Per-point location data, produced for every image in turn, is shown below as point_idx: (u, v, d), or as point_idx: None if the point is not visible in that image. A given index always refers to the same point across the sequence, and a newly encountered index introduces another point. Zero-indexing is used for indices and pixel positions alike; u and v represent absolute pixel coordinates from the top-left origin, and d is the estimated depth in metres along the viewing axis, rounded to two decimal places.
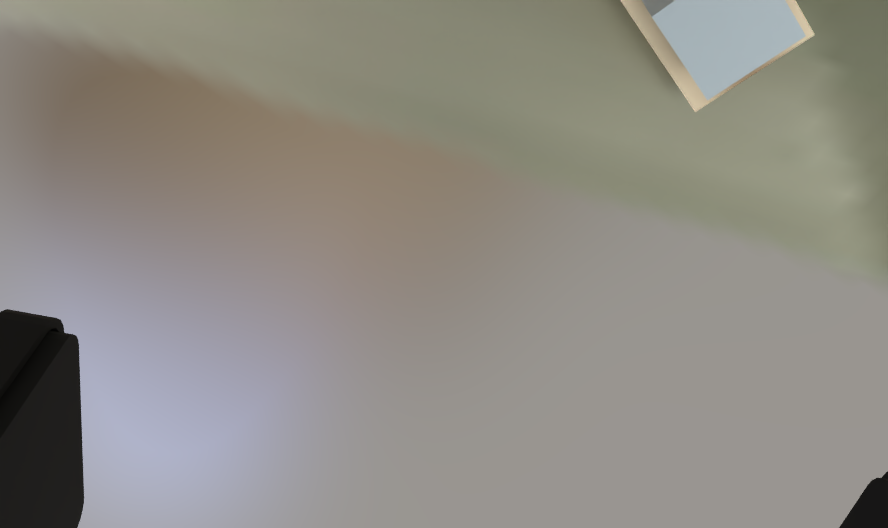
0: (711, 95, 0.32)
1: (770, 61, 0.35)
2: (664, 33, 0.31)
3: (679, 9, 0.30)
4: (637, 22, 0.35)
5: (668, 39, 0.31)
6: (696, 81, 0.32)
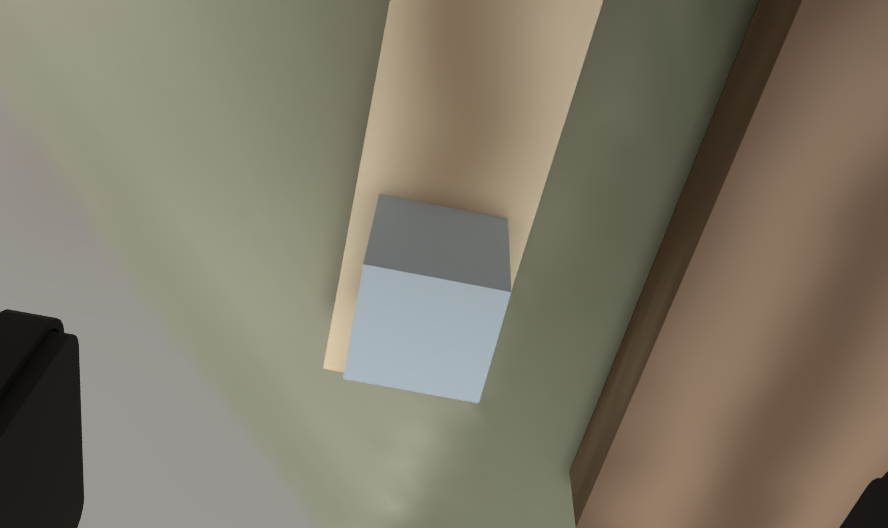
0: (350, 378, 0.24)
1: None
2: (360, 289, 0.23)
3: (394, 281, 0.23)
4: (346, 253, 0.27)
5: (359, 297, 0.23)
6: (348, 355, 0.24)
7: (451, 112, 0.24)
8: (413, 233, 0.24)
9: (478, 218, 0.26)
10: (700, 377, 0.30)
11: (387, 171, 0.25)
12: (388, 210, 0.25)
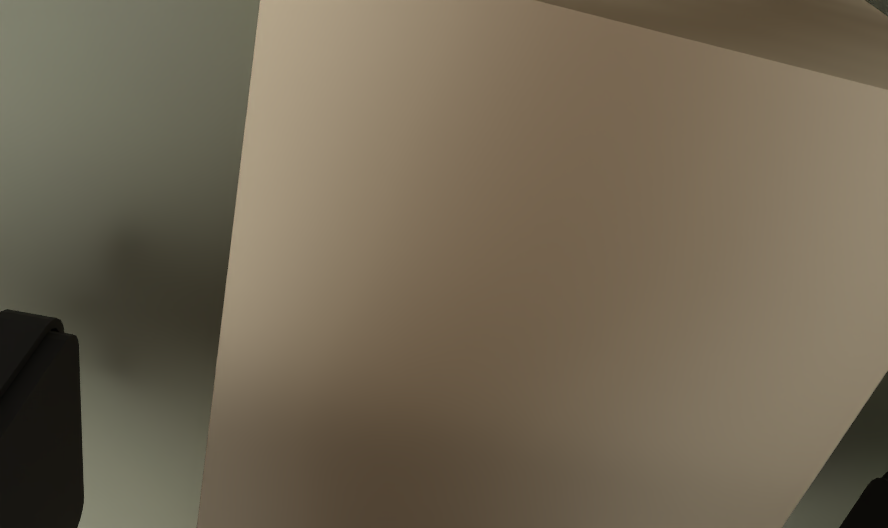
0: None
1: None
2: None
3: None
4: None
5: None
6: None
7: None
8: None
9: None
10: None
11: None
12: None
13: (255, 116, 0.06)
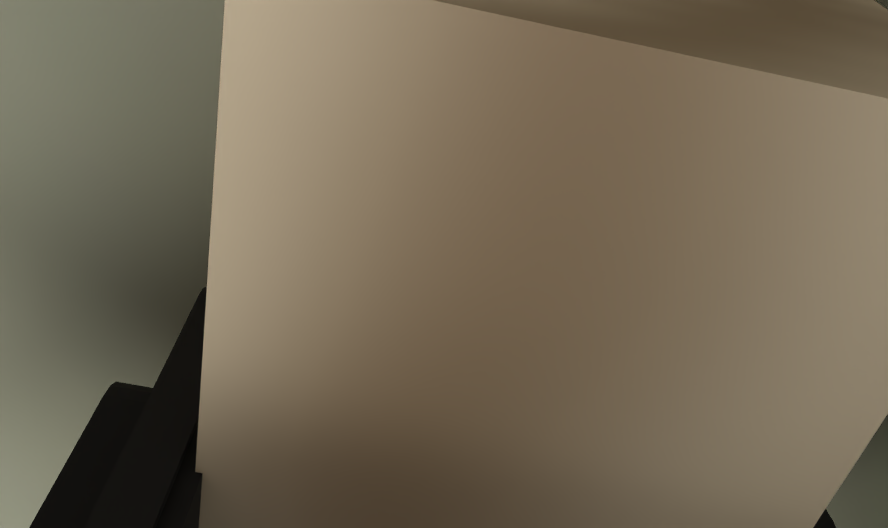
0: None
1: None
2: None
3: None
4: None
5: None
6: None
7: None
8: None
9: None
10: None
11: None
12: None
13: (225, 147, 0.06)
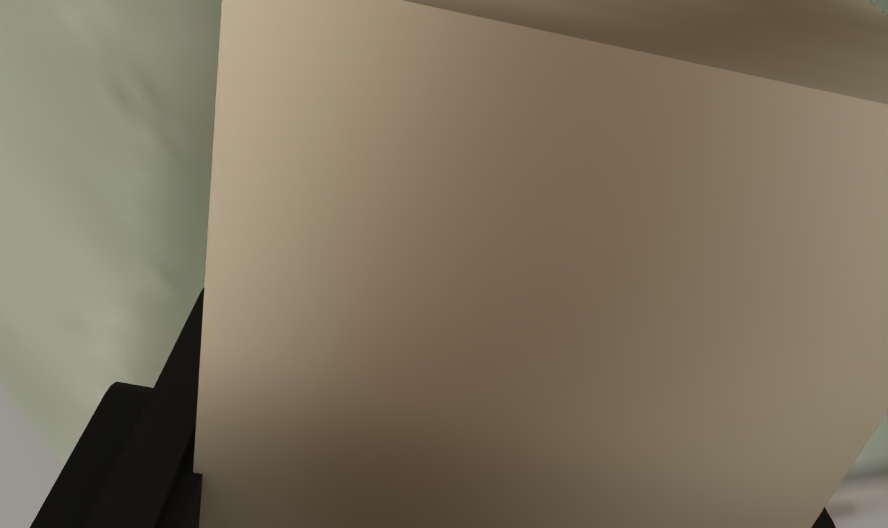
0: None
1: None
2: None
3: None
4: None
5: None
6: None
7: None
8: None
9: None
10: None
11: None
12: None
13: (221, 152, 0.06)
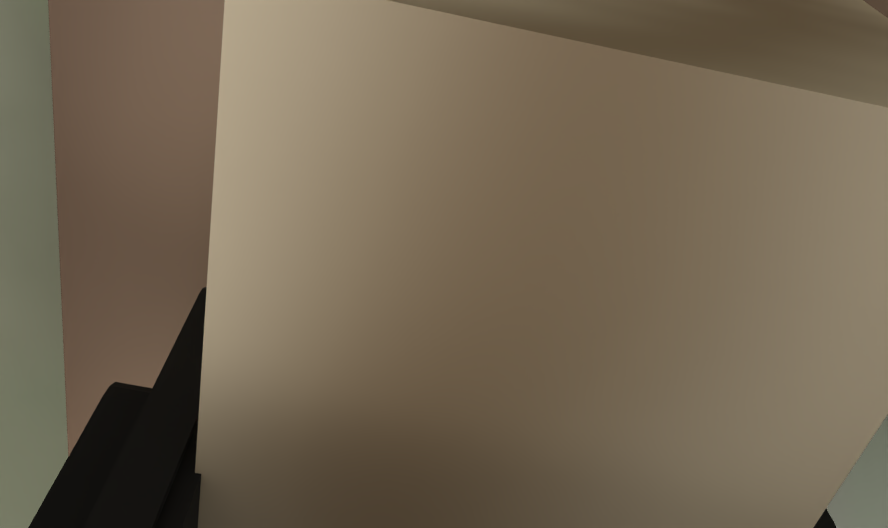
0: None
1: None
2: None
3: None
4: None
5: None
6: None
7: None
8: None
9: None
10: None
11: None
12: None
13: (224, 155, 0.06)
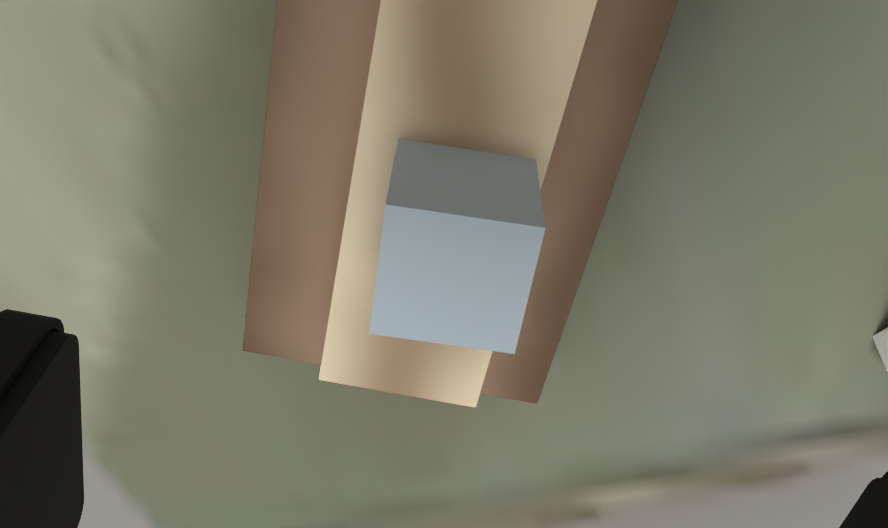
0: (377, 332, 0.23)
1: (421, 396, 0.29)
2: (383, 232, 0.21)
3: (419, 222, 0.21)
4: (340, 262, 0.26)
5: (382, 242, 0.21)
6: (374, 306, 0.22)
7: (444, 118, 0.24)
8: (436, 174, 0.23)
9: (504, 159, 0.24)
10: (320, 170, 0.29)
11: (380, 178, 0.25)
12: (409, 153, 0.24)
13: None
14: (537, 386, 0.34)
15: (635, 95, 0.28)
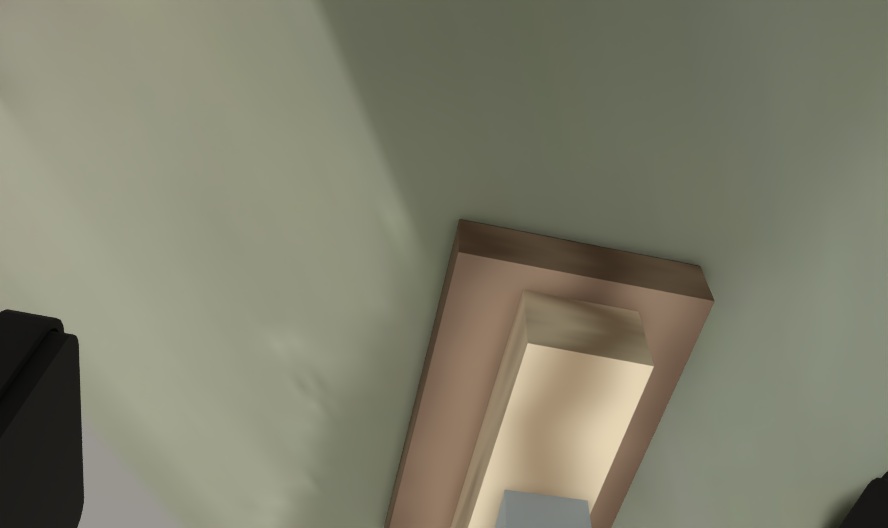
0: None
1: None
2: None
3: None
4: None
5: None
6: None
7: (533, 480, 0.40)
8: (531, 524, 0.39)
9: (569, 503, 0.40)
10: (442, 470, 0.45)
11: (492, 508, 0.41)
12: (513, 504, 0.39)
13: (521, 366, 0.36)
14: None
15: (647, 435, 0.43)
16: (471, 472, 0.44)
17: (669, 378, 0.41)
